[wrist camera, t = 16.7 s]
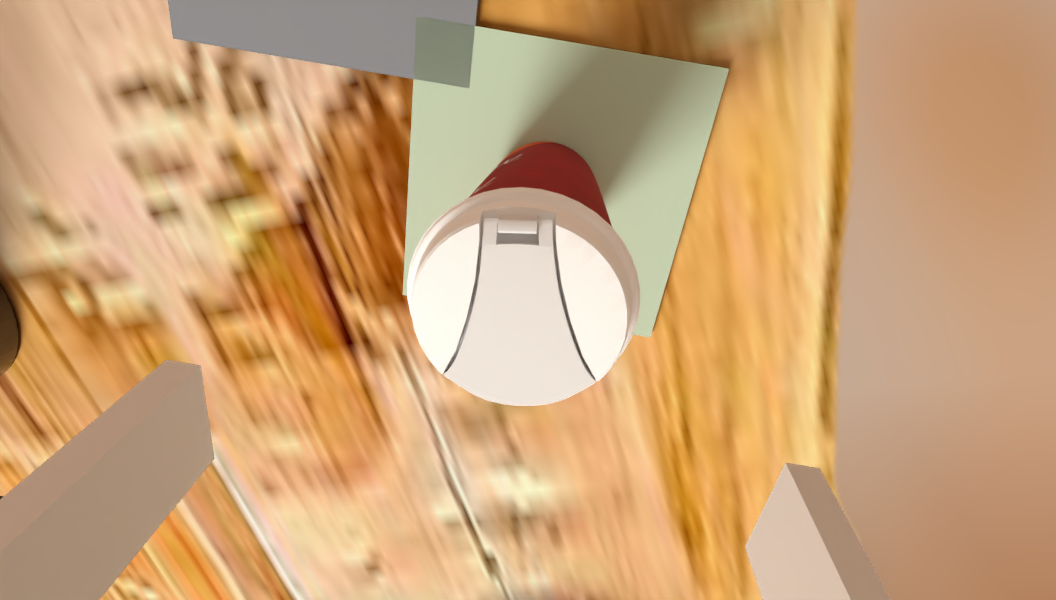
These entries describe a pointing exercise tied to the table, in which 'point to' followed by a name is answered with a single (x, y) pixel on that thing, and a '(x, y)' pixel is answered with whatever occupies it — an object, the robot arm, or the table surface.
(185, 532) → the table surface
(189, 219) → the table surface
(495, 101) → the pad green
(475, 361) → the coffee cup
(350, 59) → the pad grey
